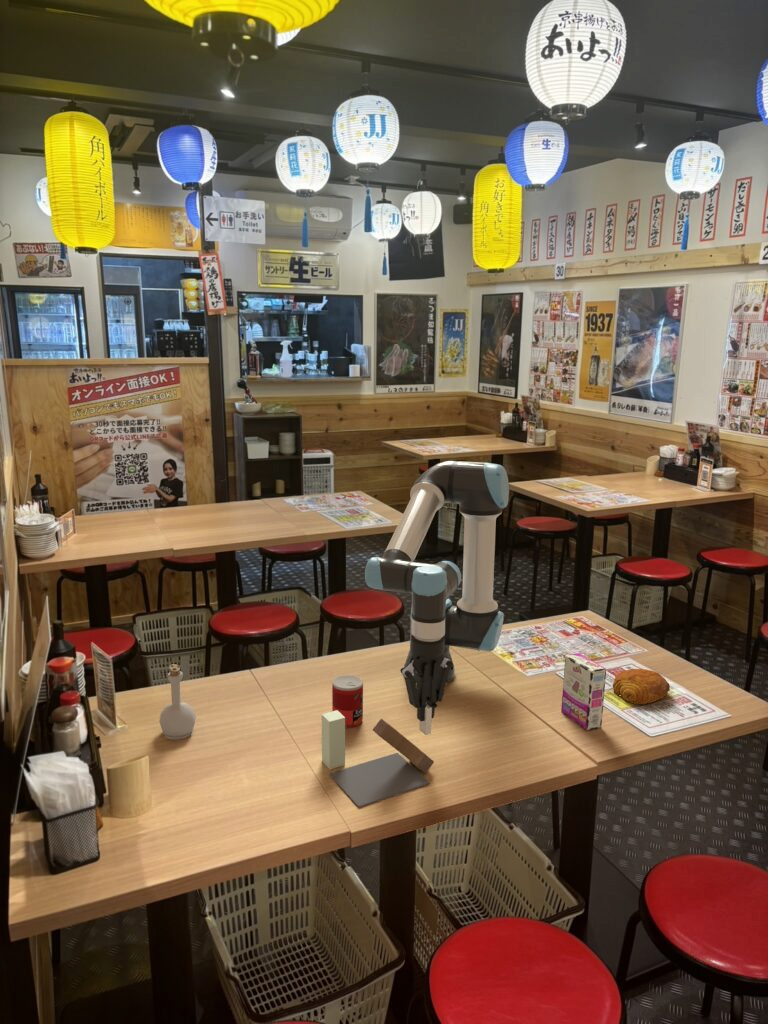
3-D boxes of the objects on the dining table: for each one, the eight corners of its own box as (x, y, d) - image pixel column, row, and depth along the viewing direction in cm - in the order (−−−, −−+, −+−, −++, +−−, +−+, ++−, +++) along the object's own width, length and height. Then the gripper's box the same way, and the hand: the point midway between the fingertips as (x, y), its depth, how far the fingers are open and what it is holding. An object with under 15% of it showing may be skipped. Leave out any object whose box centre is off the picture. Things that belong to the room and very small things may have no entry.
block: (337, 756, 173) (337, 710, 171) (345, 764, 170) (345, 717, 167) (322, 761, 171) (321, 714, 169) (329, 769, 168) (329, 721, 165)
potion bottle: (184, 720, 189) (181, 655, 185) (202, 733, 183) (199, 666, 179) (153, 732, 183) (149, 665, 179) (170, 746, 177) (166, 677, 173)
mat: (397, 754, 175) (397, 752, 175) (429, 783, 163) (429, 782, 163) (329, 774, 166) (329, 773, 166) (358, 807, 154) (358, 806, 154)
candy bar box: (602, 727, 188) (607, 668, 185) (587, 731, 186) (591, 671, 183) (575, 708, 198) (579, 651, 195) (560, 711, 196) (564, 654, 193)
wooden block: (410, 760, 172) (372, 729, 165) (419, 748, 173) (381, 717, 165) (425, 773, 167) (386, 743, 159) (434, 762, 167) (396, 730, 160)
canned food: (359, 729, 186) (359, 689, 183) (328, 726, 187) (328, 686, 185) (365, 715, 193) (366, 676, 190) (336, 712, 194) (336, 673, 192)
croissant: (676, 704, 206) (682, 677, 205) (641, 711, 197) (648, 683, 196) (633, 683, 218) (639, 658, 216) (599, 689, 209) (605, 663, 207)
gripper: (442, 624, 170) (439, 718, 175) (394, 635, 163) (392, 731, 168) (461, 635, 163) (457, 732, 168) (412, 646, 157) (409, 746, 162)
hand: (425, 731), depth 168 cm, fingers closed
